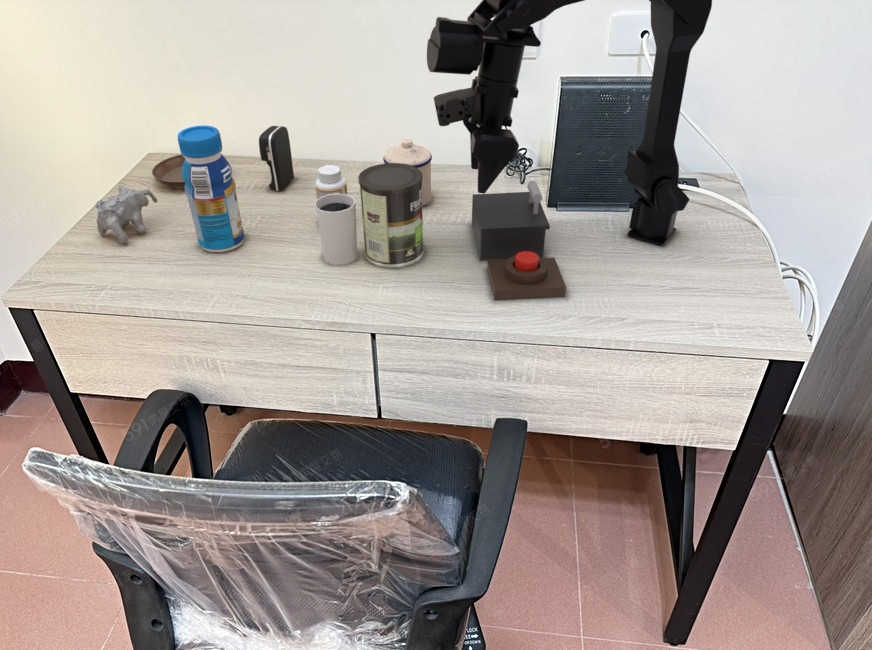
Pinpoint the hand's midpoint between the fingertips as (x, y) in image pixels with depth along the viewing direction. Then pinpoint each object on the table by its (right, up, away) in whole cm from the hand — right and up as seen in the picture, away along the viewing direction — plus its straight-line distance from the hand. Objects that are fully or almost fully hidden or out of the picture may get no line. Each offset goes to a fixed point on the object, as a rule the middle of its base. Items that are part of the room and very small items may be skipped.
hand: (477, 180), depth 110 cm
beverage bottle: (-44, -7, +17) cm, 48 cm away
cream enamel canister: (-12, +4, +28) cm, 30 cm away
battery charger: (-37, +8, +35) cm, 51 cm away
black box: (+6, -7, +14) cm, 17 cm away
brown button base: (+8, -16, +3) cm, 18 cm away
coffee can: (-13, -9, +12) cm, 20 cm away
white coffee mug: (-22, -10, +12) cm, 27 cm away
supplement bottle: (-24, -2, +21) cm, 32 cm away
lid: (+6, -3, +10) cm, 13 cm away
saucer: (-56, +11, +38) cm, 69 cm away
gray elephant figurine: (-62, -3, +22) cm, 66 cm away
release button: (+8, -13, +1) cm, 15 cm away
